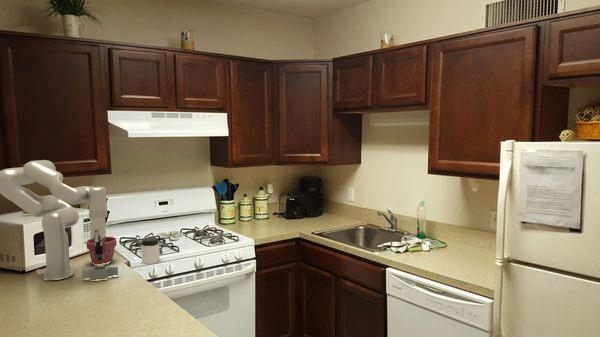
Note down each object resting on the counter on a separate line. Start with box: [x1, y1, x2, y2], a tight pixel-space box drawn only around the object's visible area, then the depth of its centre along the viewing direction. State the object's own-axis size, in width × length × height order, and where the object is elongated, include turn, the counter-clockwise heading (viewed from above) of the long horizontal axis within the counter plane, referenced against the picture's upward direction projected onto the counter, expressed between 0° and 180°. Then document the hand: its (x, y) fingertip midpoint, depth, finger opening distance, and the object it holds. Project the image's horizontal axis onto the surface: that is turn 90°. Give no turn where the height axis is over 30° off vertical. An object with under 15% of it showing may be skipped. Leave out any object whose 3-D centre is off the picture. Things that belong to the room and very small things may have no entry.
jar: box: [140, 237, 161, 265], centre depth 220 cm, size 9×8×12 cm
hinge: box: [81, 264, 119, 281], centre depth 193 cm, size 15×7×5 cm, turn 105°
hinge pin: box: [94, 236, 106, 261], centre depth 193 cm, size 5×5×10 cm
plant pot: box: [85, 236, 118, 264], centre depth 216 cm, size 14×14×13 cm
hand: (100, 252), depth 193 cm, fingers closed on hinge pin, 3 cm apart
